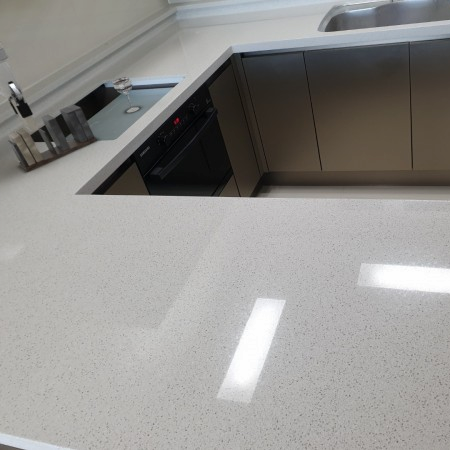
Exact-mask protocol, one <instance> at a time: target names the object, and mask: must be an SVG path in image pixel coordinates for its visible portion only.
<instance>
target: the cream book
mask: <svg viewBox="0 0 450 450" xmlns="http://www.w3.org/2000/svg"><path fill="white" fill-rule="evenodd" d="M16 98H17V97H16ZM16 98H15V99H16ZM10 100H11V102H12V104H13V106H14V107H15V109H16V111H17V113H18V114H17V115H18V116H19V119H20V120H21V122H22V123H23V125H24V127H25V128H26V130H27V131H28V130H29V131H30V132H35V131H39V130H38V129H39V128H40V127H38V125H37V123H36V121H35V119H34V117H33V115H31V116H29V117H26V118H22V116H21V114H20V113H19V111H18V109H17V107H16V106H17V105H16V103H15V102H14V100H13V99H12V98H11V99H10Z"/></svg>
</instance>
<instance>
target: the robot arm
mask: <svg viewBox="0 0 450 450" xmlns="http://www.w3.org/2000/svg"><path fill="white" fill-rule="evenodd" d="M9 60H10V58H9V56H8V54H7V52H6V49H5V48H4V46H3V44H2V42H1V41H0V96H2V97H4V98H6V99H7V100H8V103H9V104H10V107H11V108H12V110H13V111H14V114H15V115H19V114H18V113H17V111H16V109H15V107H14V106H13V104H12V102H11V100H10V99H11V98H12V99H13V100H14V102H15V103H16V105H17V106H16V107H17V109H18V111H19V113H20V114H21V116H22V118H26V117H29V116H31V115H32V116H33V115H34V113H33V111H32V109H31V107H30V105H29V104H28V102H27V101H26V99H25V97H24V96H23V92H24V91H23V89H22V87H21V84H20V83H19V81H18V79H17V77H16V76H15V73H14V72H13V70H12V67H11V66H10V65H9V63H8V61H9ZM16 97H17V98H16ZM15 98H16V99H15Z"/></svg>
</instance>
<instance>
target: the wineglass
mask: <svg viewBox="0 0 450 450" xmlns="http://www.w3.org/2000/svg"><path fill="white" fill-rule="evenodd" d="M112 84H113V88H114V90H115V91H116V92H117V93H119V94H121V95H122V94H123V95H125V96H126V98H127V101H128V103H129V105H130V108H129V109H128V110H126V113H134V112H136V111H138V110H140V107H138V106H135V107H134V106H133V105H132V102H131V100H130V99H131V98H130V96H129V94H130V92H131V91H132V89H133V81H132V80H131V77H130V76H122V77H119V78H116V79H114V80H112Z"/></svg>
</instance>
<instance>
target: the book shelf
mask: <svg viewBox="0 0 450 450" xmlns="http://www.w3.org/2000/svg"><path fill="white" fill-rule="evenodd" d="M59 112H60V114H61V116H62V117H63V120H64V122H65V124H66V126H67V128H68V130H69V131H70V134H71V137H72V139H70V140H67V138H66V137H65V134H64V132H63V131H62V129H61V127H60V124H59V123H58V121H57V119H56V117H54V116H52V115H50V114H45V115H43V116H41V117H40V118H41V120H42V122H43V124H44V126H45V128H46V129H47V131H48V133H49V135H50V137H49V135H48V133H47V132H46V131H45V130H43V129H42V128H40V127H38V128H39V129H38V130H37V131H38V132H39V134H40V136H41V138H42V139H43V142H44V143H45V145H46V147H47V150H45V151H42V152H40V150H39V149H38V147H37V145H36V143H35V141H34V139H33V137H32V136H31V134H30V132H29V131H28V130H27V129H25V128H23V127H22V128H19V129H17V130H15V131H12V132H9V133H7V136H8V138H9V139H8V140H7V142H8V144H9V146H10V148H11V149H12V151H13V153H14V154H15V156H16V158H17V160H18V161H19V162H18V165H19V166H20V168H21V169H23V170H24V171H26V172H30V171H32V170H35V169H37V168H39V167H42V166H44V165H46V164H48V163H50V162H53V161H55V160H57V159H60V158H62V157H64V156H66V155H68V154H70V153H73V152H75V151H78V150H80V149H82V148H84V147H86V146H89V145H91V144H93V143H95V142H97V141H98V140H97V138H96V136H95V135H94V133H93V131H92V128H91V126H90V124H89V122H88V120H87V118H86V115H85V113H84V111H83V109H82V107H81V106H78V105H76V104H71V105H68V106H66V107H63V108H60V109H59ZM50 138H51V139H52V140H51V139H50ZM52 141H53V143H54V145H55V146H54V145H53V143H52Z"/></svg>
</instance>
